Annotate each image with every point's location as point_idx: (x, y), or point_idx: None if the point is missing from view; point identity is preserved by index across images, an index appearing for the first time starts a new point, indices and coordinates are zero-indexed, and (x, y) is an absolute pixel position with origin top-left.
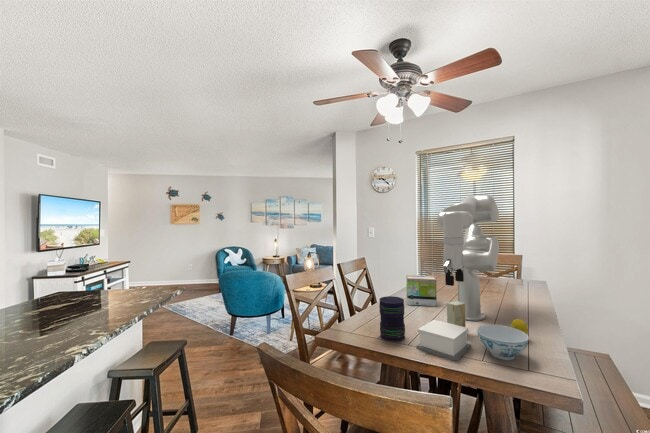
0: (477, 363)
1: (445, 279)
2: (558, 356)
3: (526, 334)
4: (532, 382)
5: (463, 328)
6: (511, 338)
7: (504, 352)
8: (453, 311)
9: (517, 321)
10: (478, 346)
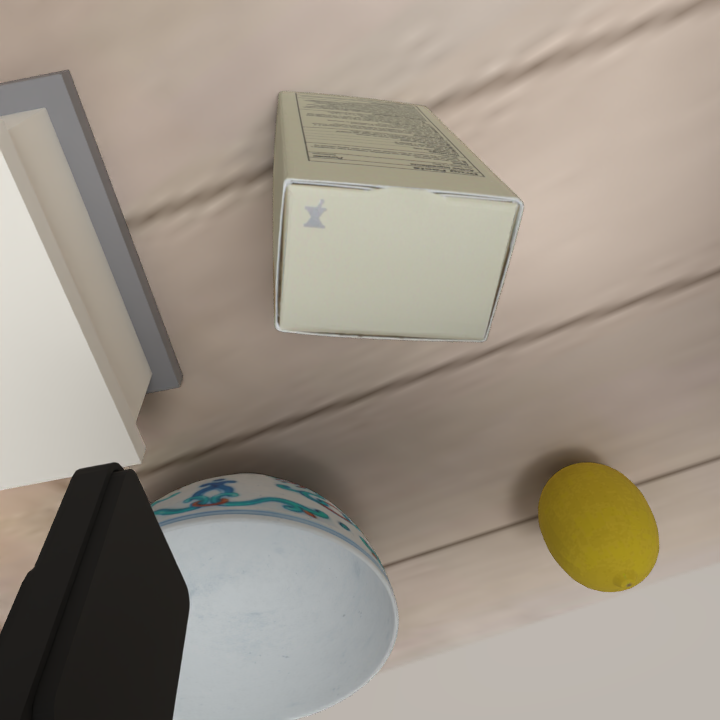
0: (18, 500)
1: (31, 581)
2: (468, 630)
3: (342, 699)
4: None
5: (88, 449)
6: (363, 574)
7: None
8: (273, 261)
9: (594, 575)
10: (242, 394)
